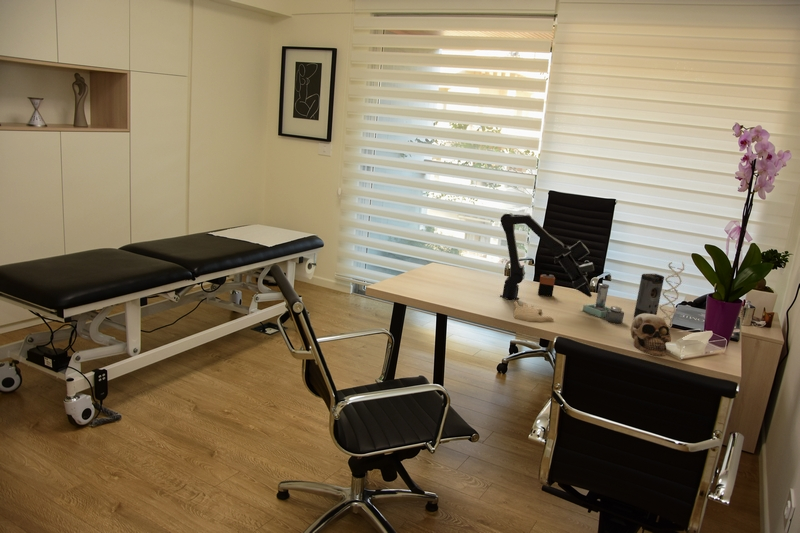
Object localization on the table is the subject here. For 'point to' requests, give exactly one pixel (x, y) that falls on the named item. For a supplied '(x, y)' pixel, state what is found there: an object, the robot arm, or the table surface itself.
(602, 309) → the grey cylindrical piece
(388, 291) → the table surface
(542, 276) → the battery
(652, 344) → the tan skull model
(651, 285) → the electronic device
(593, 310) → the tray
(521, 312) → the hand model
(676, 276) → the dna model
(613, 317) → the calibration weight
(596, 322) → the table surface
